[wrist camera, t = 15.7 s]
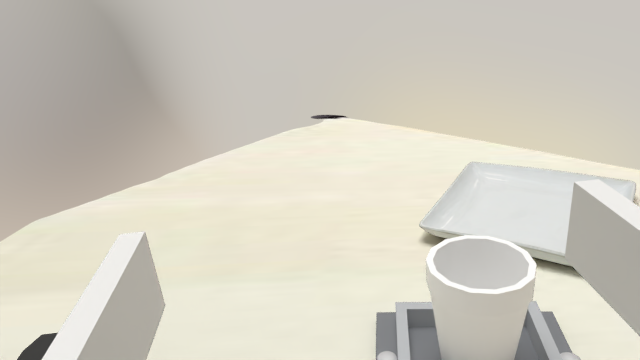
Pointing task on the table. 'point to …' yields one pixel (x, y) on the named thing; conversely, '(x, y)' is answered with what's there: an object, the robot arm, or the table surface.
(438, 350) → the tray
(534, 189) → the square plate
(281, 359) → the table surface
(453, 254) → the foam cup
